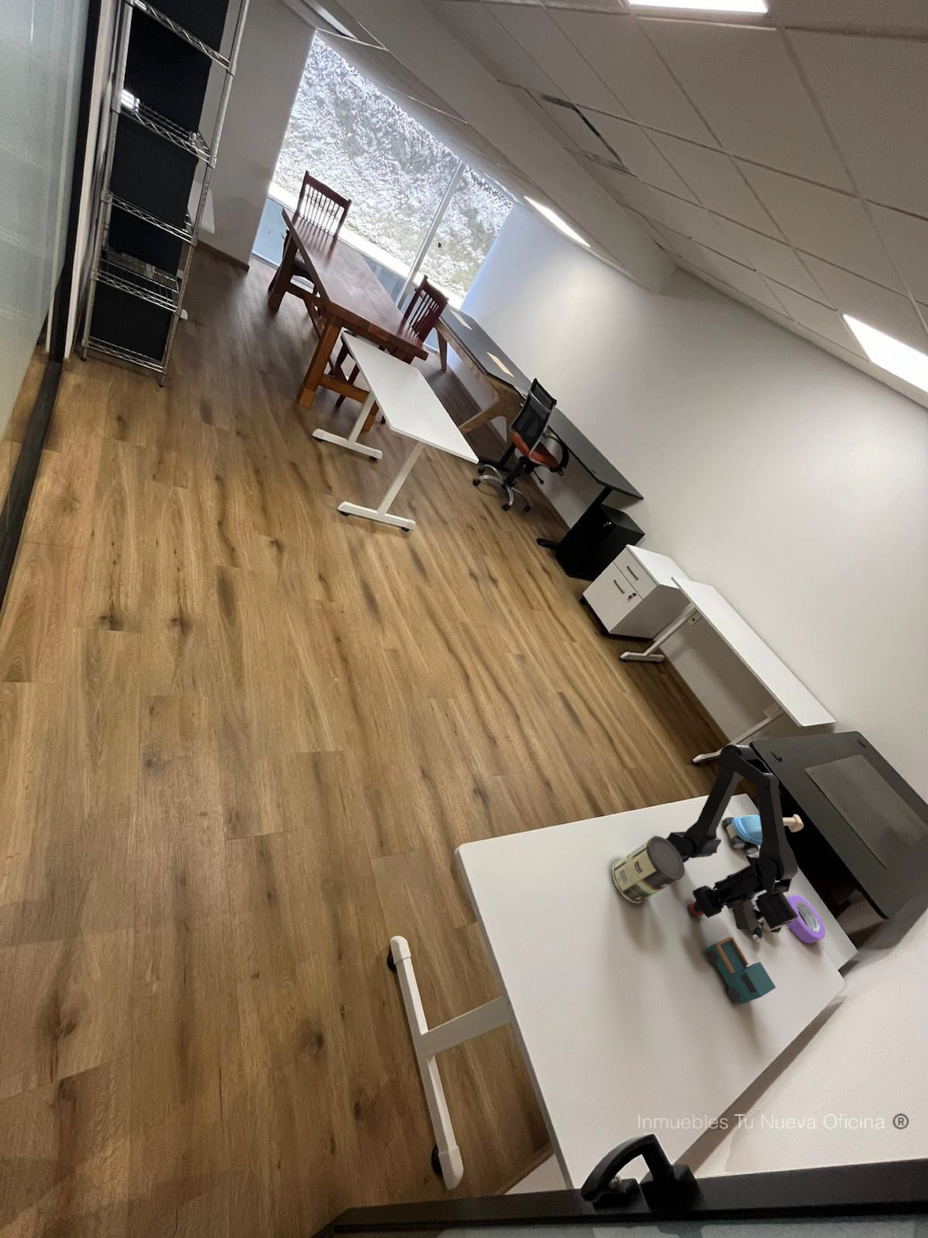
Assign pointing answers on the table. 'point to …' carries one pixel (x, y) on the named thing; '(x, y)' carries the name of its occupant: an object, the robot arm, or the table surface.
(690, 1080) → the table surface
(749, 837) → the toy excavator
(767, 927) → the robot toy
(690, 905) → the figure
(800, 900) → the tape roll
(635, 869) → the coffee can
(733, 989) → the truck
